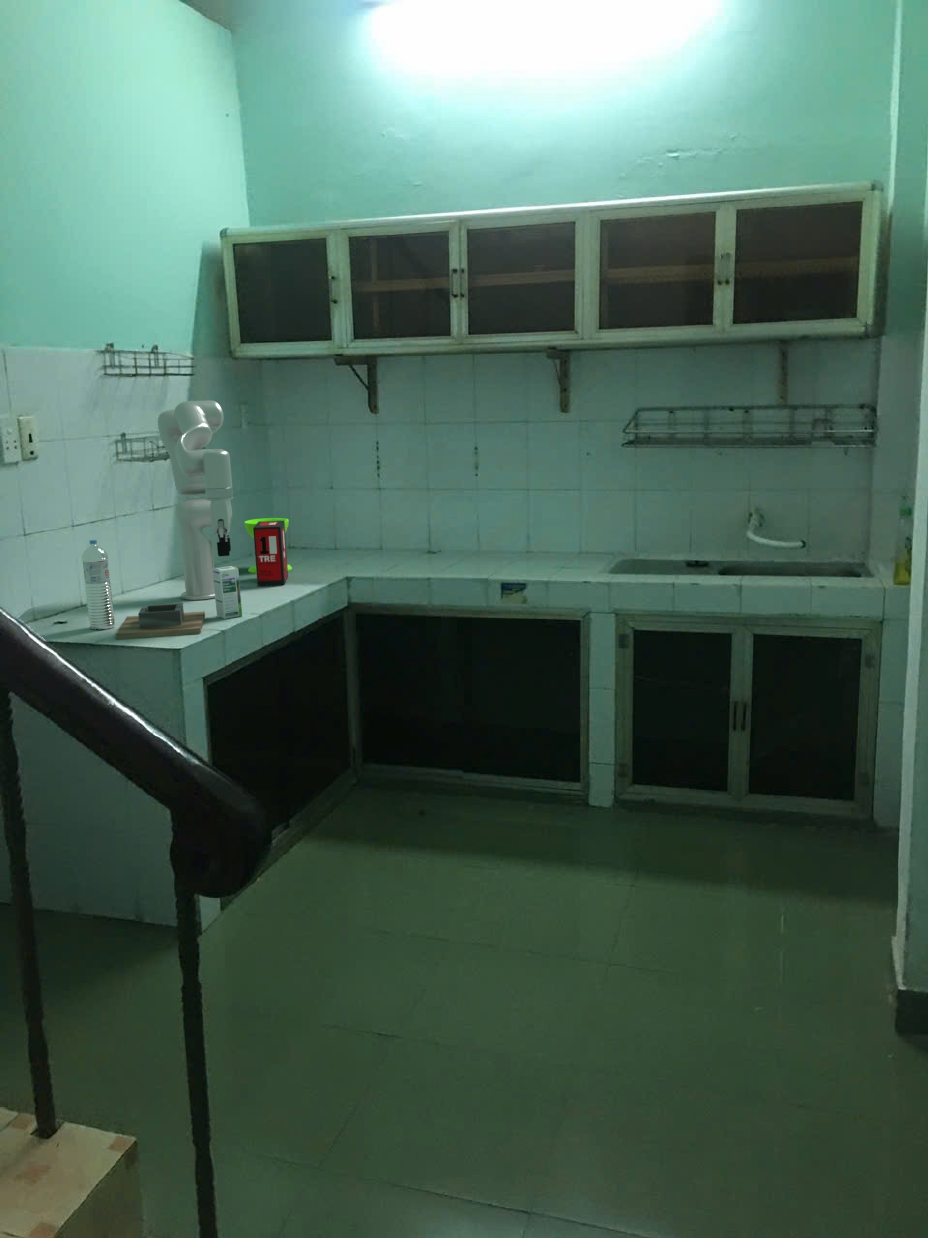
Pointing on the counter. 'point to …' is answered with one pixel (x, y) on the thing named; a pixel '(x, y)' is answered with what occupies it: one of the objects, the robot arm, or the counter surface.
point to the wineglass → (249, 527)
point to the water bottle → (98, 587)
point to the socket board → (161, 622)
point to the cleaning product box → (270, 553)
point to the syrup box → (227, 592)
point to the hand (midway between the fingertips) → (224, 553)
